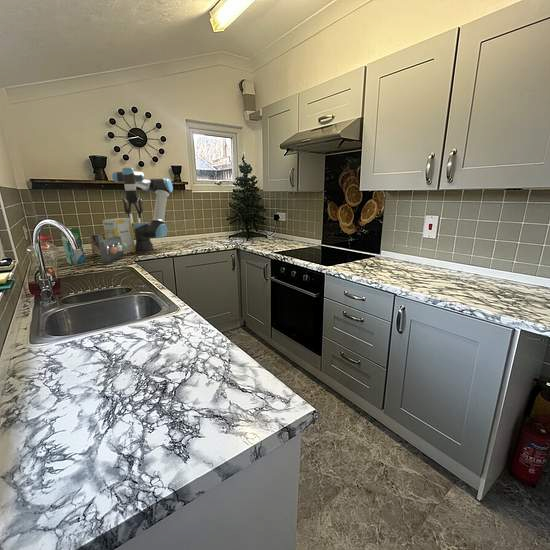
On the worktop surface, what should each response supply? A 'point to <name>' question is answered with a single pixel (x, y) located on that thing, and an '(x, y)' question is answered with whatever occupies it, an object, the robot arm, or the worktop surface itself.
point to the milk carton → (70, 253)
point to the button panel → (105, 249)
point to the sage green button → (124, 245)
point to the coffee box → (96, 243)
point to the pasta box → (120, 232)
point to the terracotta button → (113, 250)
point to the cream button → (119, 247)
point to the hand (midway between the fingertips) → (135, 222)
